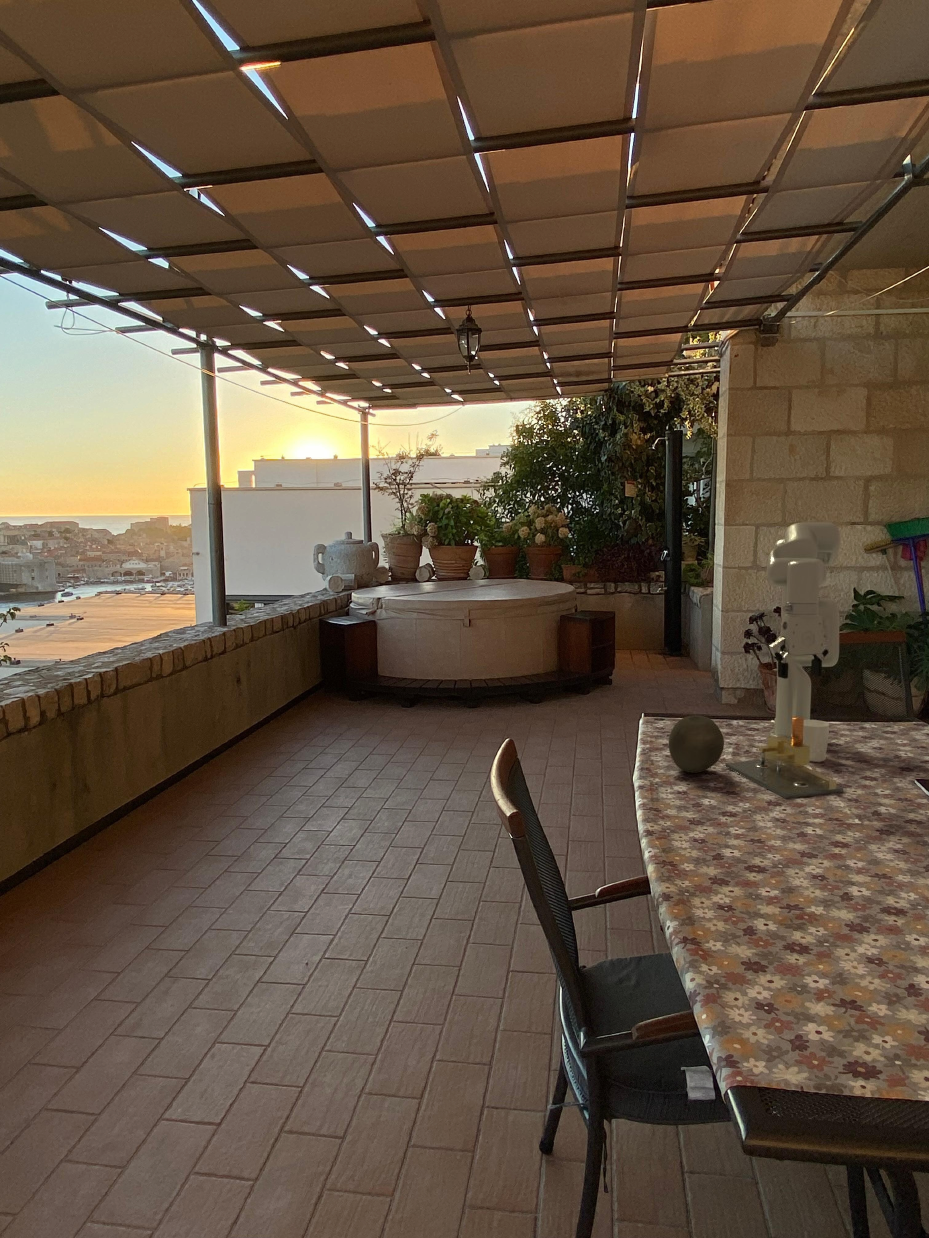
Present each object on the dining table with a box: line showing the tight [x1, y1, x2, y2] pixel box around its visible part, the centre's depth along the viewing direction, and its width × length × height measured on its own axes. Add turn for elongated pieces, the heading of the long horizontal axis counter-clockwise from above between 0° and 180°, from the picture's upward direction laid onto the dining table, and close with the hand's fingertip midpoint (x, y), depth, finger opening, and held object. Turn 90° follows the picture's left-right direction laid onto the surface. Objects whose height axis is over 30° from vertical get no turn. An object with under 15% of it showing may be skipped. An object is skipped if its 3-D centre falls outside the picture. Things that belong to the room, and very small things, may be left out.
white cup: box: [803, 719, 830, 763], centre depth 229 cm, size 8×8×10 cm
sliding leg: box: [775, 717, 810, 773], centre depth 213 cm, size 4×8×14 cm, turn 104°
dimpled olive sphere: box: [668, 715, 725, 774], centre depth 218 cm, size 14×14×15 cm
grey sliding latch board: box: [724, 736, 844, 799], centre depth 212 cm, size 26×16×8 cm, turn 15°
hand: (799, 676), depth 211 cm, fingers open, 9 cm apart
